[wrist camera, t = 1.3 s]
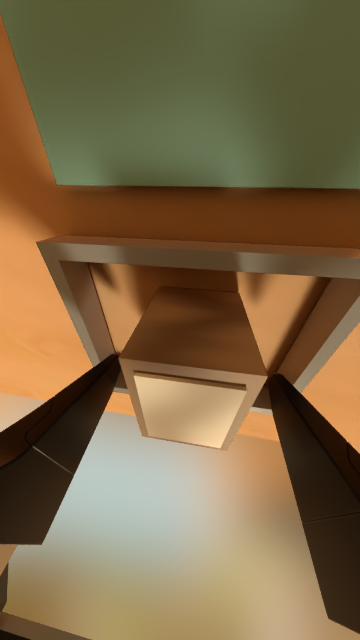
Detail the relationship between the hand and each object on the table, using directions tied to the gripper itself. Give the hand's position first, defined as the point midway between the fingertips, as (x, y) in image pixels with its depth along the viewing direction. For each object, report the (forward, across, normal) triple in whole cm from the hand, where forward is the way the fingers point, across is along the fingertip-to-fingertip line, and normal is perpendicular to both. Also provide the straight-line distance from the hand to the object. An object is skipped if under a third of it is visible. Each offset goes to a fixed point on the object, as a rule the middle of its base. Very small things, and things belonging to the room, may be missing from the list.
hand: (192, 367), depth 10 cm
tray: (+3, 0, 0) cm, 3 cm away
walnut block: (+3, 0, 0) cm, 3 cm away
